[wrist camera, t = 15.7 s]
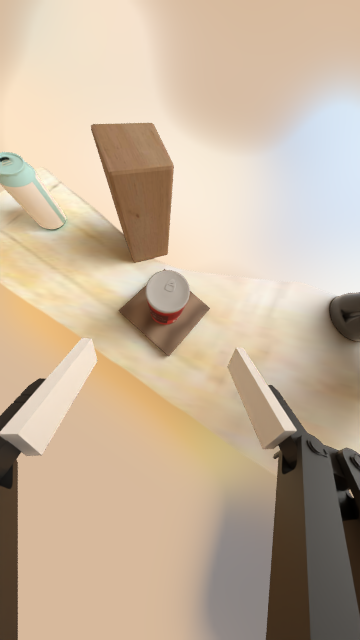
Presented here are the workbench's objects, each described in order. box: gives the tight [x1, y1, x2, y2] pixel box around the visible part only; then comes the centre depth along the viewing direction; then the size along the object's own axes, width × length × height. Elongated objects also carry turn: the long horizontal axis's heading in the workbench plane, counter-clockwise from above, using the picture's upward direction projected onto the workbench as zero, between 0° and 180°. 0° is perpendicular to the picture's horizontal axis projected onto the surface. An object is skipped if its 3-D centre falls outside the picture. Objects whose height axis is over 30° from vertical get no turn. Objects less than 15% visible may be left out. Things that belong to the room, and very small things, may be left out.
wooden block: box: [91, 123, 174, 262], centre depth 30 cm, size 10×10×20 cm
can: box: [0, 152, 66, 229], centre depth 32 cm, size 7×7×12 cm
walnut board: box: [119, 269, 210, 356], centre depth 35 cm, size 16×16×2 cm
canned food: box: [146, 270, 190, 325], centre depth 29 cm, size 8×8×11 cm
